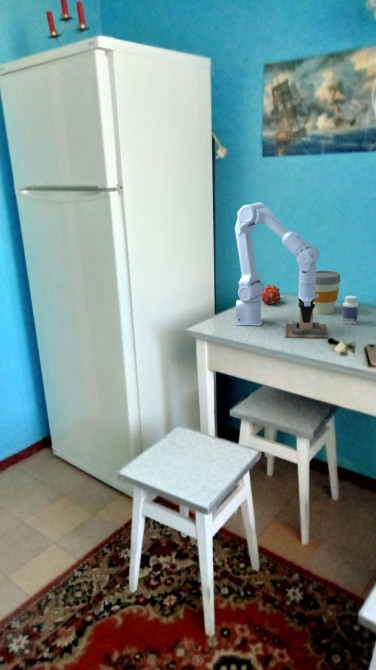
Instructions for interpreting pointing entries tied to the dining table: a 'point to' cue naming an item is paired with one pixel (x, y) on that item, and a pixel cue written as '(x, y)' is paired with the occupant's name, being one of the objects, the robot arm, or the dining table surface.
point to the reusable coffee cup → (326, 291)
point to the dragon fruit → (271, 295)
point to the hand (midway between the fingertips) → (306, 320)
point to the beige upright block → (306, 325)
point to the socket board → (305, 331)
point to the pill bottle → (350, 310)
